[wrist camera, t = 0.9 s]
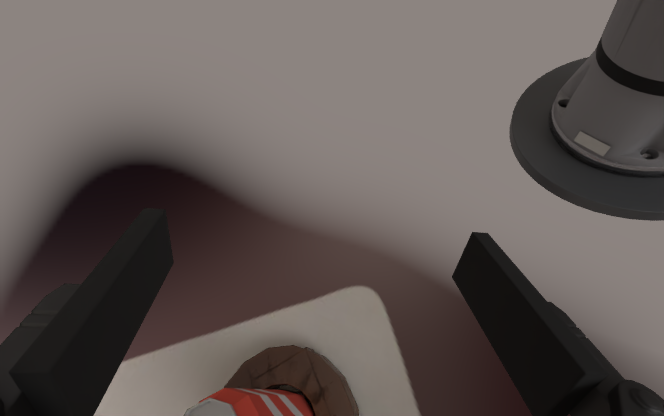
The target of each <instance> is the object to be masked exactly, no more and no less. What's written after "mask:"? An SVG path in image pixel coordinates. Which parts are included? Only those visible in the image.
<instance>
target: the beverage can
mask: <svg viewBox="0 0 664 416" xmlns="http://www.w3.org/2000/svg"><path fill="white" fill-rule="evenodd" d="M184 416H315V413H314V412H313V410H312V409H311V407H310V406H309V404H308V403H307V401H306V400H305V398H304V397H303V395H300V394H297V393H293V392H289V391H286V390H271V389H241V388H223V389H222V390H220V391H218V392H216V393H214V394H212V395H210V396H209V397H207V398H205V399H203V400H201V401H200V402H199V403H198V404H196V405H195V406H193V407H191V408H189V409H187V411H186V412H185V414H184Z"/></svg>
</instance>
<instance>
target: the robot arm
mask: <svg viewBox="0 0 664 416" xmlns="http://www.w3.org/2000/svg"><path fill="white" fill-rule="evenodd" d="M549 126H550V130H551V133H552V135H553V137H554V139H555V140H556V142H557V143H558V144H559V145H560V147H561V148H562V149H563V150H565V151H566V152H567V153H568V154H569V155H571V156H572V157H574V158H575V159H577V160H578V161H580V162H582V163H584V164H586V165H588V166H591V167H593V168H596V169H598V170H601V171H605V172H608V173H612V174H617V175H622V176H628V177H640V178H658V177H664V0H617V3H616V5H615V7H614V9H613V11H612V14H611V16H610V18H609V20H608V22H607V25H606V27H605V29H604V31H603V34H602V37H601V39H600V41H599V43H598V45H597V48H596V50H595V51H594V52H593V53H592V54H591V56H590V57H589V58H588V59H587V60H586V61H585V62H584V63H583V64H582V65H581V67H580V68H579V69H578V70H577V71H576V72H575V73H574V74H573V75H572V77H571V78H570V79H569V80H568V81H567V82H566V83H565V84H564V86H563V87H562V88H561V89H560V90H559V92H558V94H557V95H556V97H555V100H554V102H553V105H552V108H551V111H550V114H549ZM172 265H173V256H172V249H171V243H170V236H169V230H168V223H167V217H166V210H165V209H150V208H144V209H143V211H142V212H141V213H140V214H139V216H138V217H137V218H136V219H135V220H134V221H133V223H132V224H131V225H130V226H129V228H128V229H127V230H126V231H125V233H124V234H123V235H122V236H121V237H120V238H119V240H118V241H117V242H116V243H115V245H114V246H113V247H112V248H111V249H110V250H109V252H108V253H107V254H106V255H105V257H104V258H103V259H102V260H101V261H100V262H99V264H98V265H97V266H96V267H95V268H94V270H93V271H92V272H91V273H90V275H89V276H88V277H87V278H86V280H85V281H84V282H83V283H82V284H63V285H62V286H60V287H59V288H57V289H56V290H54V291H53V292H51V293H50V294H48V295H46V296H45V297H44V299H42V301H41V302H40V303H39V304H38V305H37V306H36V307H35V308H34V309H33V310H32V313H31V314H29V315H28V316H27V317H26V318H25V319H24V320H23V321H22V322H21V323H20V326H19V327H17V328H16V329H15V330H14V331H13V332H12V333H11V334H10V335H9V336H8V337H7V338H6V340H5V341H4V342H3V343H2V344H1V345H0V416H93V415H94V413H95V412H96V410H97V408H98V406H99V404H100V402H101V400H102V398H103V396H104V394H105V393H106V391H107V389H108V387H109V385H110V383H111V381H112V379H113V377H114V375H115V373H116V372H117V370H118V368H119V366H120V364H121V362H122V360H123V358H124V356H125V354H126V353H127V351H128V349H129V347H130V345H131V343H132V341H133V339H134V337H135V335H136V333H137V331H138V330H139V328H140V326H141V324H142V322H143V320H144V318H145V316H146V314H147V312H148V311H149V309H150V307H151V305H152V303H153V301H154V299H155V297H156V295H157V293H158V292H159V290H160V288H161V286H162V284H163V282H164V280H165V278H166V276H167V274H168V272H169V271H170V269H171V267H172ZM452 278H453V280H454V281H455V283H456V285H457V287H458V288H459V290H460V291H461V293H462V295H463V297H464V298H465V300H466V302H467V304H468V305H469V307H470V309H471V310H472V312H473V314H474V316H475V317H476V319H477V321H478V323H479V324H480V326H481V328H482V329H483V331H484V333H485V335H486V336H487V338H488V340H489V342H490V343H491V345H492V347H493V348H494V350H495V352H496V354H497V355H498V357H499V359H500V360H501V362H502V364H503V366H504V367H505V369H506V371H507V372H508V374H509V376H510V377H511V379H512V381H513V383H514V384H515V386H516V388H517V390H518V391H519V393H520V395H521V397H522V398H523V400H524V402H525V403H526V405H527V407H528V408H529V410H530V412H531V414H532V415H533V416H567V415H568V414H570V415H571V416H664V400H663V399H662V398H661V397H660V396H659V395H657V394H656V393H655V392H654V391H652V390H651V389H649V388H647V387H646V386H644V385H642V384H640V383H637V382H635V381H632V380H625V379H624V378H623V377H622V376H621V375H620V374H619V373H618V371H617V370H616V369H615V368H614V367H613V366H612V365H611V364H610V362H608V360H607V359H606V358H605V357H604V356H603V355H602V354H601V352H600V351H599V350H598V349H597V348H596V347H595V346H594V345H593V343H592V342H591V341H590V340H589V339H588V338H586V337H585V335H584V334H583V333H582V331H581V330H580V329H579V328H577V327H576V325H575V324H574V322H573V321H572V320H571V319H570V318H569V317H568V316H567V314H566V313H564V312H563V311H562V310H561V309H559V308H558V307H556V306H555V305H554V304H553V303H551V302H547V301H546V300H545V299H544V298H543V297H542V295H541V294H540V293H539V292H538V291H537V290H536V288H535V287H534V286H533V285H532V284H531V283H530V281H529V280H528V279H527V278H526V277H525V276H524V275H523V273H522V272H521V271H520V270H519V269H518V268H517V266H516V265H515V264H514V263H513V262H512V261H511V260H510V258H509V257H508V256H507V255H506V254H505V253H504V252H503V250H502V249H501V248H500V247H499V246H498V245H497V243H495V241H494V240H493V239H492V238H491V236H490V235H489V234H488V233H478V232H472V234H471V236H470V238H469V241H468V243H467V245H466V247H465V249H464V251H463V254H462V256H461V258H460V260H459V263H458V265H457V267H456V269H455V271H454V273H453V276H452Z"/></svg>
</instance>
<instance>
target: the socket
mask: <svg viewBox="0 0 664 416" xmlns="http://www.w3.org/2000/svg"><path fill="white" fill-rule="evenodd" d="M282 385H290V386H293V387H295V388H297V389H299V390H301V391H302V393H303V394H304V395H305V396H306V397H307V398H308V400H309V401H310V402H311V404H312V407H313V410H314V413H315V415H316V416H359V409H358V406H357V404H356V402H355V399H354V397H353V395H352V392H351V390H350V388H349V385H348V383H347V381H346V379H345V377H344V376H343V375H342V374H341V373H340V372H339V371H338V370H337V369H336V368H335V367H334V365H333V364H332V363H331V362H330V361H329V360H328V359H327V358H326V357H324V356H322V355H319V354H317V353H315V352H314V350H313V349H310V348H307V347H306V348H304V349H303V348H301V347H298V346H294V345H290V346H281V347H272V348H267V349H266V350H264V351H262V352H261V353H259V354H257V355H256V356H254V357H252V358H250V359H249V360H247V361H245V362H244V363H243V364H242V366H241V367H240V368H239V369H238V370H237V372H236V373H235V374H234V375H233V377H232V378H231V379H230V380H229V381H228V383H227V384H226V385H225V387H224V388H241V389H271V390H274V389H276V388H278V387H279V386H282Z"/></svg>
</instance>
